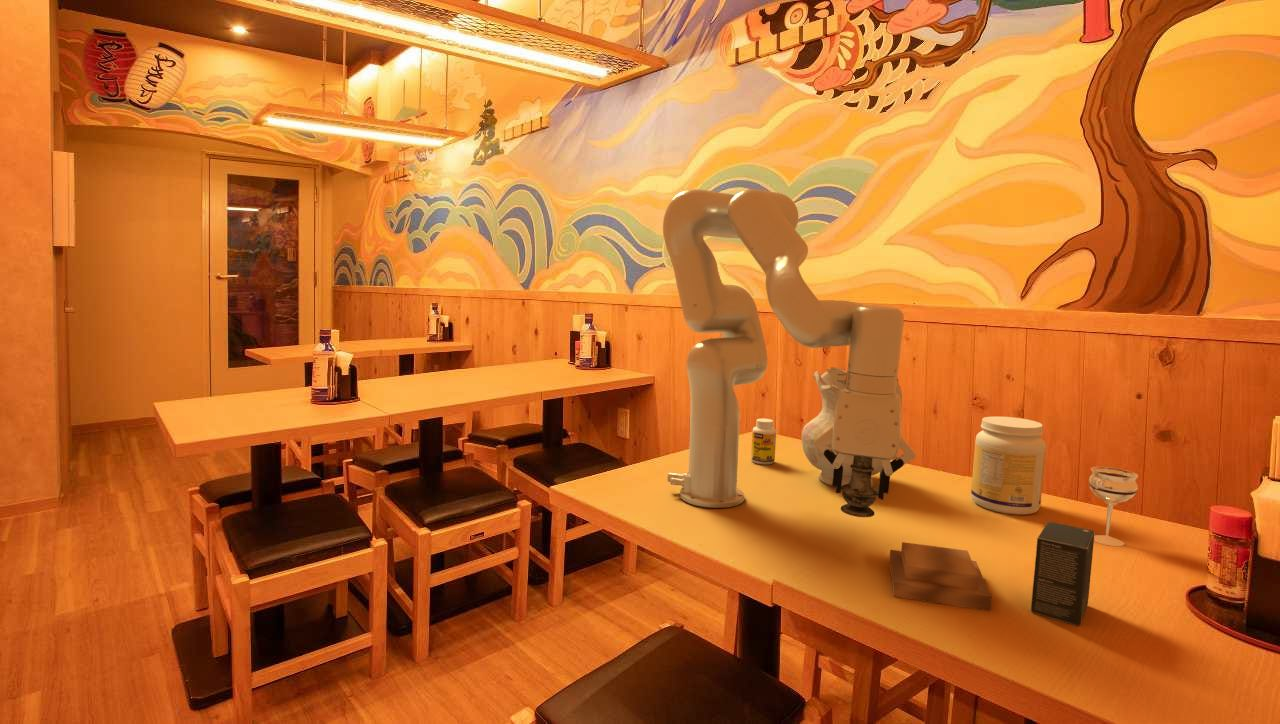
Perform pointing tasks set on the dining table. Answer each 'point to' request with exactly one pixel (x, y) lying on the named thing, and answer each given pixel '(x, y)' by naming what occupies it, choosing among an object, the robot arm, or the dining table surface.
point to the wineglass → (1112, 494)
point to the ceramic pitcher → (824, 423)
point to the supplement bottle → (763, 442)
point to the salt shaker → (859, 489)
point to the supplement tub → (1009, 465)
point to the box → (1062, 572)
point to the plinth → (938, 576)
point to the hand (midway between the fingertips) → (859, 492)
